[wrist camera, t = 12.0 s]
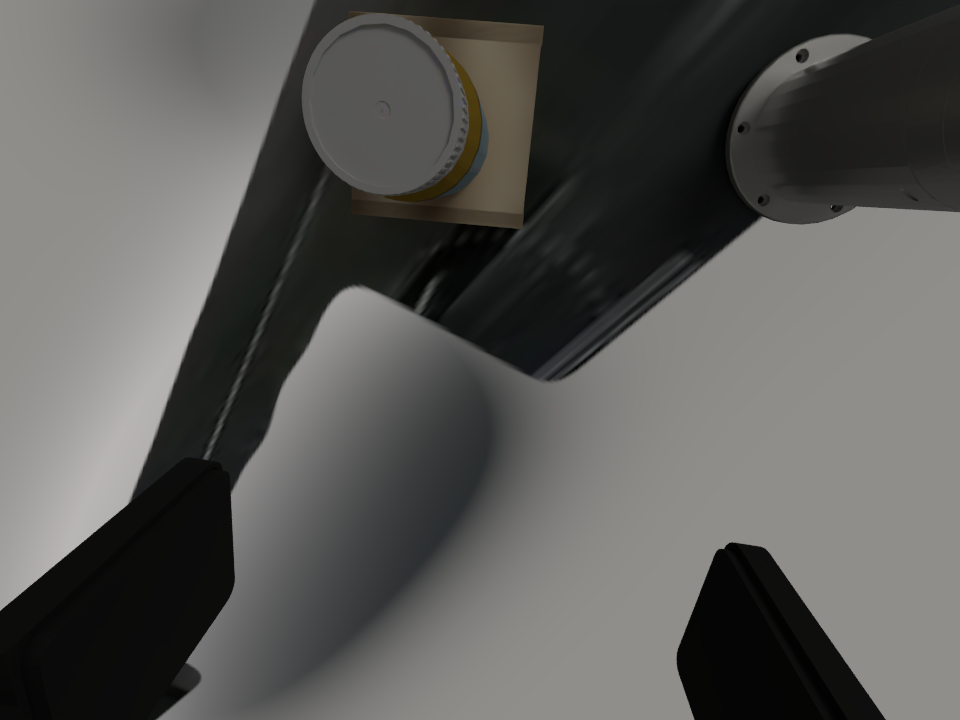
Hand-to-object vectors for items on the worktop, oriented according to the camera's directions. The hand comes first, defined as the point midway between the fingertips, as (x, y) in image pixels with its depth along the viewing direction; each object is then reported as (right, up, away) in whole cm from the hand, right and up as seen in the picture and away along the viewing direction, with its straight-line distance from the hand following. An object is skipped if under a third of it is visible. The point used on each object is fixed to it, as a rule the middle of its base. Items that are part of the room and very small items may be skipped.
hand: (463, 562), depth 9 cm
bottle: (-3, +19, +23) cm, 30 cm away
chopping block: (-2, +21, +28) cm, 35 cm away
